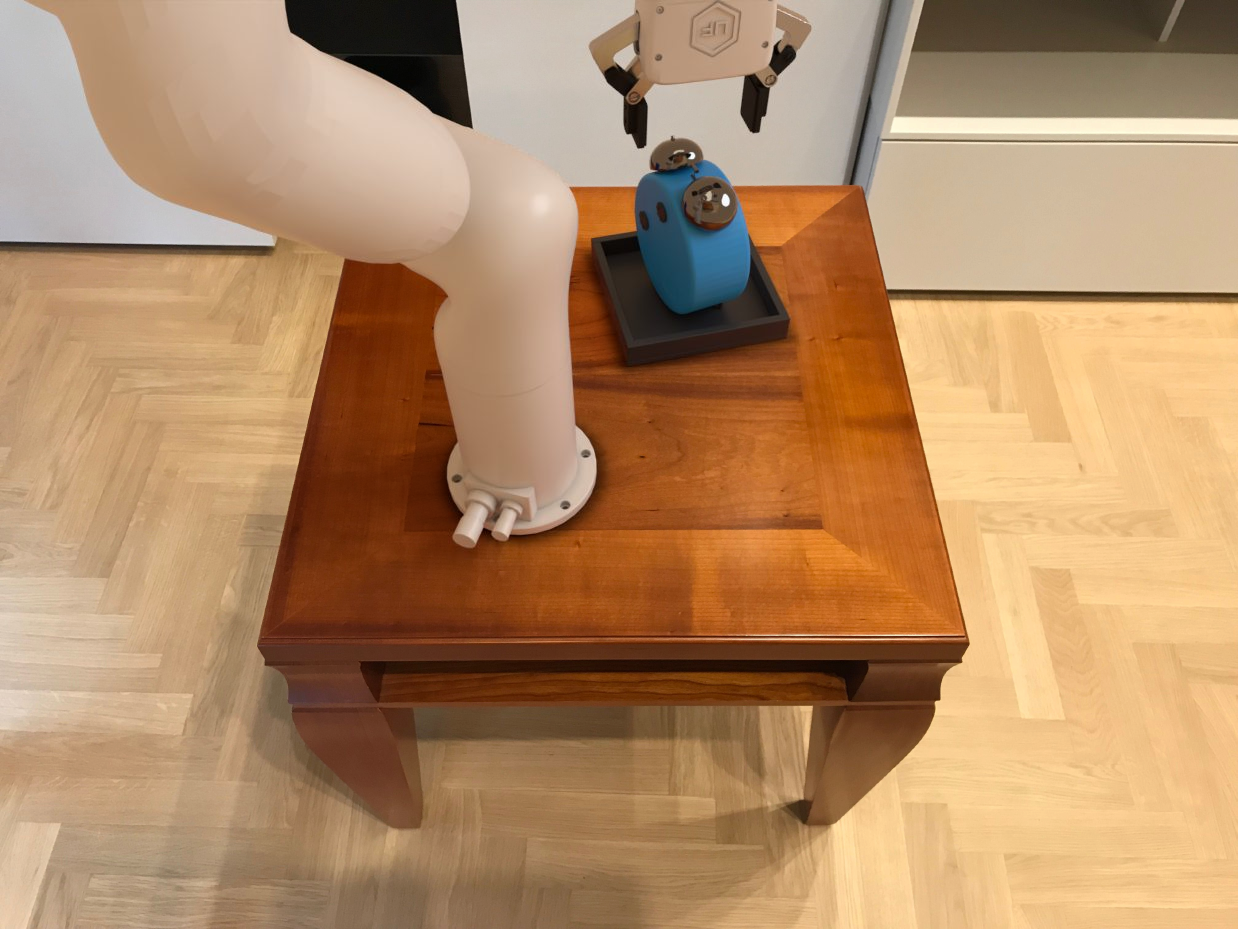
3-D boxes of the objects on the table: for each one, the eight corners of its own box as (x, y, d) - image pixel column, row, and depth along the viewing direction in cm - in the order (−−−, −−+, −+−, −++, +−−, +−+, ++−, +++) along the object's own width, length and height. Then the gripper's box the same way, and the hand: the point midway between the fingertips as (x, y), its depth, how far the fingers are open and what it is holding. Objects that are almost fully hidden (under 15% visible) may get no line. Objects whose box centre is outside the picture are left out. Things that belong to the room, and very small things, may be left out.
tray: (786, 338, 90) (790, 318, 88) (627, 367, 88) (627, 347, 86) (736, 233, 99) (739, 213, 97) (591, 257, 97) (590, 237, 95)
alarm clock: (744, 326, 90) (762, 197, 78) (685, 345, 89) (695, 216, 77) (685, 243, 97) (694, 112, 85) (630, 259, 96) (631, 128, 84)
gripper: (600, -55, 61) (602, 172, 75) (851, -80, 64) (808, 143, 77) (576, -103, 65) (582, 119, 79) (811, -125, 68) (777, 94, 82)
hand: (694, 131), depth 78 cm, fingers open, 9 cm apart
